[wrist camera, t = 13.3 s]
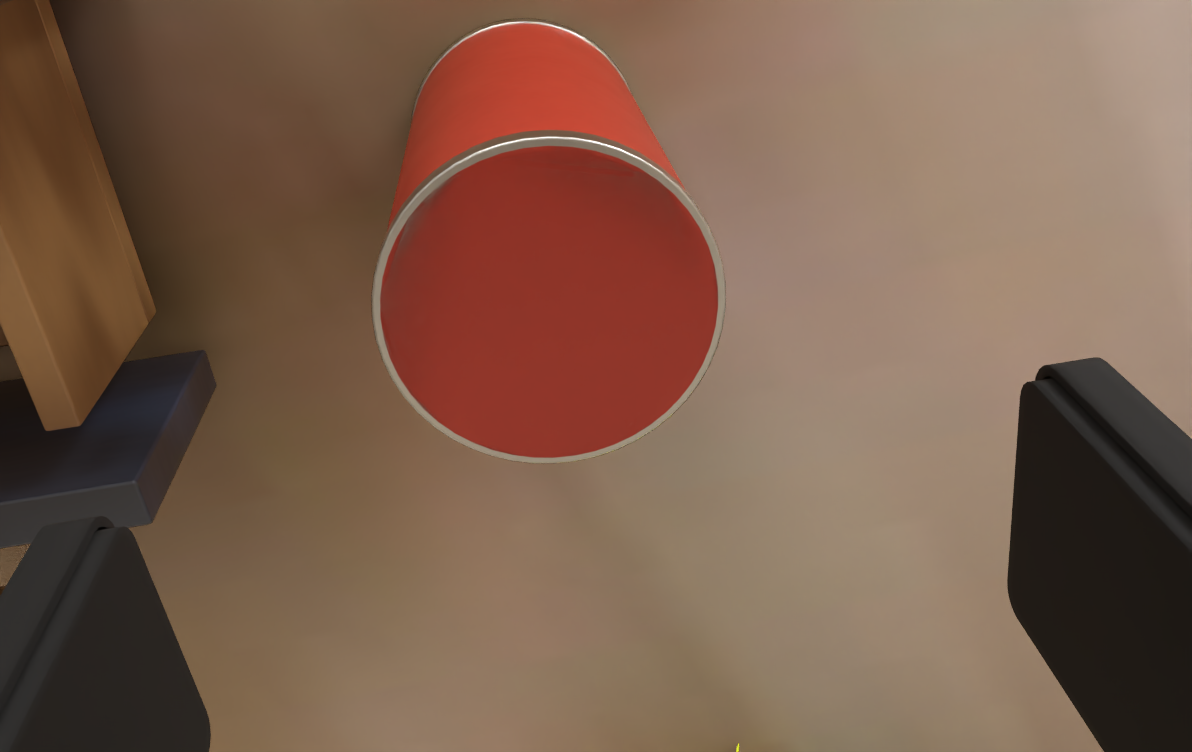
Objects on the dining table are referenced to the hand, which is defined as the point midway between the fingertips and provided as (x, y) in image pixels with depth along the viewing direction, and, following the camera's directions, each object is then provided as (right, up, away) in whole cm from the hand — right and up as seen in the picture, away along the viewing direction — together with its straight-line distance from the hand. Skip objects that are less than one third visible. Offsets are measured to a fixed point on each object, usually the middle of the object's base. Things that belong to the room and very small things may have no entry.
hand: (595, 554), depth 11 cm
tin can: (-2, +8, +18) cm, 20 cm away
